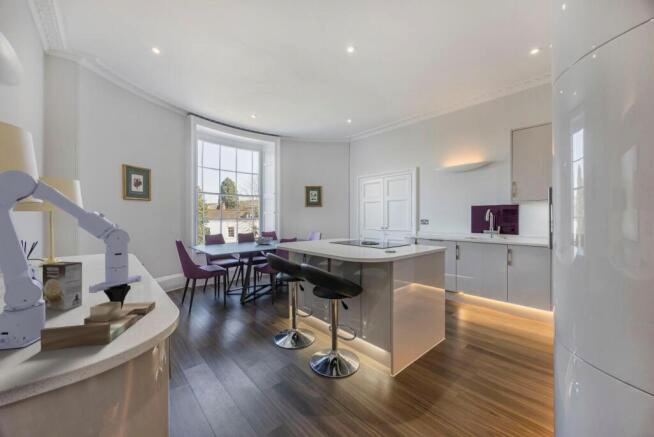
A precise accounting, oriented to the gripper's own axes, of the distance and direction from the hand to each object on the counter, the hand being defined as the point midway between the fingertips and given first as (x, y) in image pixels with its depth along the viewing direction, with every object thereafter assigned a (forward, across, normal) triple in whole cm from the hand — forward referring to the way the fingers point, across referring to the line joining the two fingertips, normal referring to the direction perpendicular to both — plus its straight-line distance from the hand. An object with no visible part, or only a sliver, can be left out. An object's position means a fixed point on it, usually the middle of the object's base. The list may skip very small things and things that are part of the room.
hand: (117, 309), depth 82 cm
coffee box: (+3, -4, -31) cm, 32 cm away
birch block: (+1, +4, +1) cm, 4 cm away
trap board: (+3, +4, +2) cm, 5 cm away
